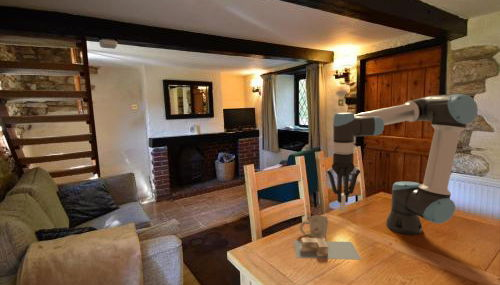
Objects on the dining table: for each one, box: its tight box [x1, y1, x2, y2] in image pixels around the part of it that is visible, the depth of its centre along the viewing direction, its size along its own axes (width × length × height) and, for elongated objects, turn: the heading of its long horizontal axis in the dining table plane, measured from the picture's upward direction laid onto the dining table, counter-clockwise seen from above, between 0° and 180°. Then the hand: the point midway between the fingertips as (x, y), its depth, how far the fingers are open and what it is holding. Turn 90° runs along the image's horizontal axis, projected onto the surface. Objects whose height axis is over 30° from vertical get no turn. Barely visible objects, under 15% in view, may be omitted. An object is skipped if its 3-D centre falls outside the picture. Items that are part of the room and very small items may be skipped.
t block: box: [301, 234, 328, 256], centre depth 107 cm, size 10×10×4 cm
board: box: [293, 240, 363, 261], centre depth 107 cm, size 25×13×2 cm, turn 86°
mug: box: [299, 214, 329, 239], centre depth 117 cm, size 8×13×10 cm, turn 78°
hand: (342, 209), depth 104 cm, fingers closed
